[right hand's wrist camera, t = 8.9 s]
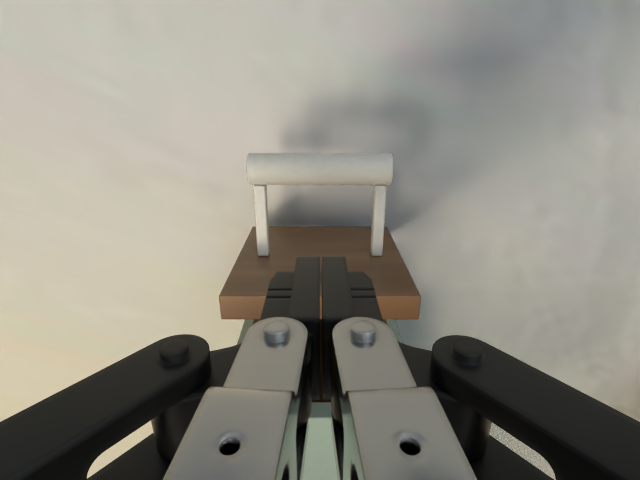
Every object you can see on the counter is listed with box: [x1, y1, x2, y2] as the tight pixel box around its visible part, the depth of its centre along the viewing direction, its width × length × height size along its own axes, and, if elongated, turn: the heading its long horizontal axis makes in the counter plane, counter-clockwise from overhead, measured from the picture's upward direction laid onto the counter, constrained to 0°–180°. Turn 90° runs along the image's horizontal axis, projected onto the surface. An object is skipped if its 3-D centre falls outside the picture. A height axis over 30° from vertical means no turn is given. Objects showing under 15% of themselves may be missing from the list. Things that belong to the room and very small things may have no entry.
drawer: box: [219, 153, 421, 402], centre depth 23 cm, size 17×9×9 cm, turn 0°
